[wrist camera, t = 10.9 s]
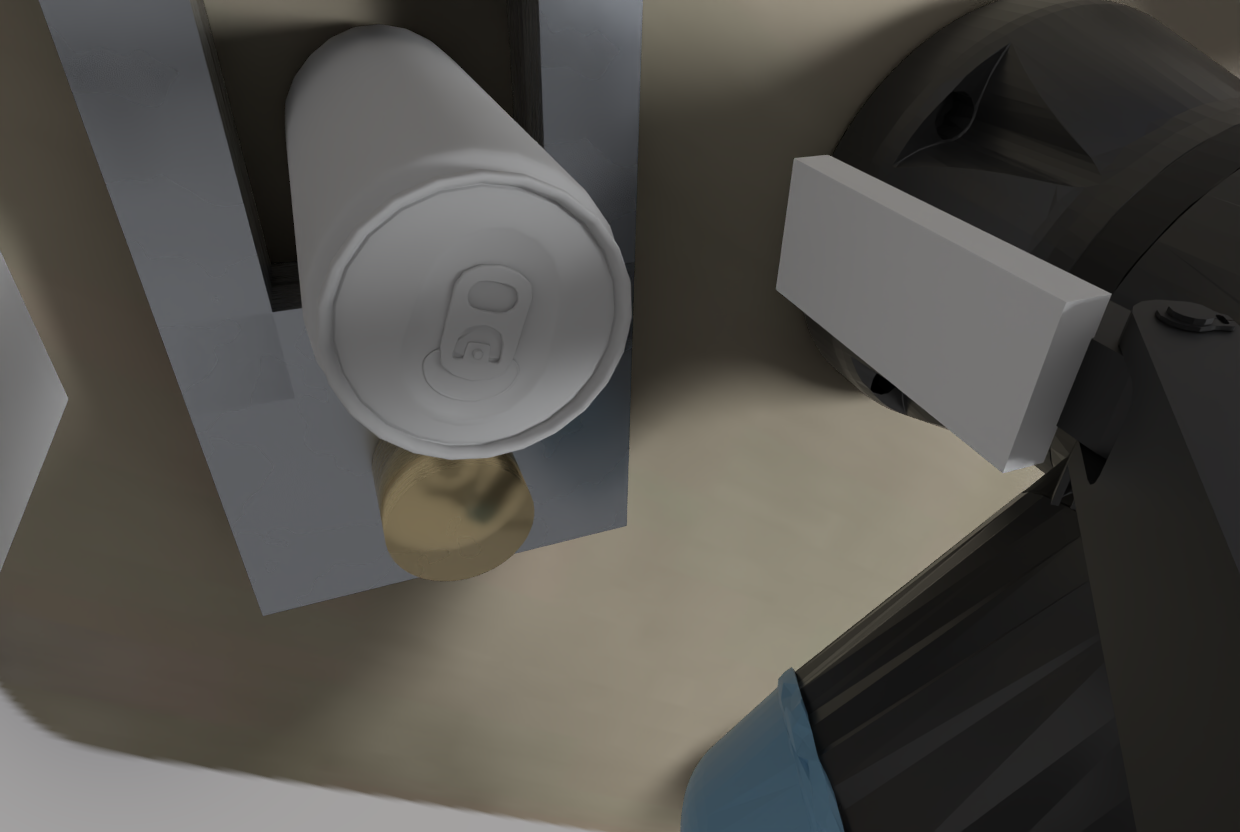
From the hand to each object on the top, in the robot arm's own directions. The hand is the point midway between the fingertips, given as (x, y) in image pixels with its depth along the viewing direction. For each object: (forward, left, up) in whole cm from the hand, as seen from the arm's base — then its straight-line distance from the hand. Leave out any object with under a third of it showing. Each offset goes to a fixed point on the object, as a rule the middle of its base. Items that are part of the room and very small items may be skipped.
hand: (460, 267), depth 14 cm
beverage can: (0, 0, -9) cm, 9 cm away
